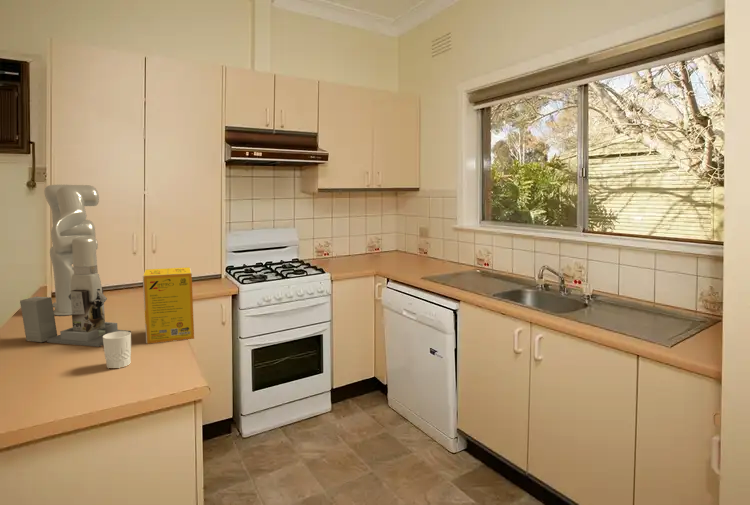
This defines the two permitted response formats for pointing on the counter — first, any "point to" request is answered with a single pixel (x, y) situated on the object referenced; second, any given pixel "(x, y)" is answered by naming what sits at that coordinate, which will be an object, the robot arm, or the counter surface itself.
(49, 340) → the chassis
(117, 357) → the white cup
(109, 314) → the counter surface
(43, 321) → the skincare box
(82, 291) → the coffee box
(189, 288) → the packaging box
